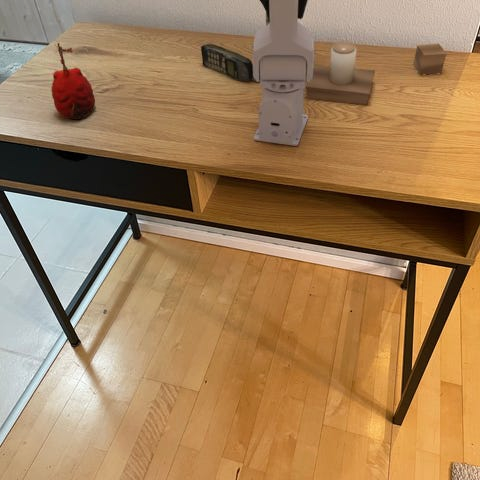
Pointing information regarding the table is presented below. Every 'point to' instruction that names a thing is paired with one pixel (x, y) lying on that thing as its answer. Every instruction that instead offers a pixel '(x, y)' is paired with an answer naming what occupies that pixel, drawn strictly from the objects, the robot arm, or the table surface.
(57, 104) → the red bumpy rounded piece
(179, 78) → the table surface
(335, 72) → the stoneware jar
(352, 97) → the wooden brick
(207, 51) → the mobile phone
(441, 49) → the walnut block
